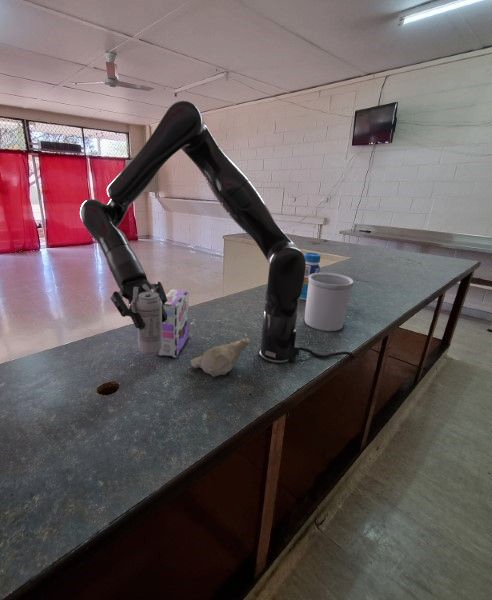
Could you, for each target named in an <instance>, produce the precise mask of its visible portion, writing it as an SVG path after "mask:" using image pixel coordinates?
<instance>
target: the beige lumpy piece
mask: <svg viewBox="0 0 492 600" xmlns="http://www.w3.org/2000/svg"><path fill="white" fill-rule="evenodd" d="M250 343H251V338H250V337H247V338H246V337H245V338H242V339H240V338H239V339H238V340H237V341H233V342H231V343H226V344H220V345H217V346H214V347H212V348H210V349H208V350H206V351H204V352H203V354H202V355H200V356H196V357H195V358H192V359H191V360H190V364H191V366H192V367H194V368H195V369H198V368H199V369H200V368H201V369H202V370H203V372H204V373H205V374H208V375H210V376H212V377H213V378H215V377H218V376H221V375H222V376H226V375H227V373H229V372H231V370H233V368H234V367H235V365H236V364H237V361H238V359H239V357H240V356H241V354H242V352H244V350H245V349H246V348H247V346H248V345H249V344H250Z"/></svg>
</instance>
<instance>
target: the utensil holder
mask: <svg viewBox="0 0 492 600" xmlns="http://www.w3.org/2000/svg"><path fill="white" fill-rule="evenodd" d="M308 280H309V284H308V292H307V300H305V308H304V309H305V310H304V323H305V324H306V325H307V326H308V327H311V328H313V329H316V330H319V331H323V332H336V331H340V330H342V329H343V328H344V324H345V319H346V316H347V311H348V307H349V302H350V297H351V293H352V287H353V285H354V280H353V278H351V277H349V276H347V275H344V274H340V273H334V272H333V273H332V272H319V273H313V274H310V275H309V278H308Z"/></svg>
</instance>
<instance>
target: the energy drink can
mask: <svg viewBox="0 0 492 600" xmlns="http://www.w3.org/2000/svg"><path fill="white" fill-rule="evenodd" d="M136 305H137V313H139V315H140V316H141V319H142V321H143V323H144V325H145V327H144V328H143V329H141V330H139V329H138V328H137V341H138V342H137V344H138V350H139V351H140V352H141V353H142V354H144V355H150V356H151V355H156V354H158V352H159V351H160V349H161V348H162V346H163V343H162V301H161V299H160V297H159V294H158V293H157V292H154V291H152V292H150V291H149V292H142V293H140V294H139V297H138V299H137V302H136Z"/></svg>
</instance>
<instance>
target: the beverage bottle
mask: <svg viewBox="0 0 492 600" xmlns="http://www.w3.org/2000/svg"><path fill="white" fill-rule="evenodd" d="M304 256H305V259H306V270H305V277H304V283H303V289H302V294H301V296H300V299H299V300H303V301H306V300H307V292H308V284H309V280H308V278H309V275H310V274H313V273H321V267H320V265H319V263H320V262H321V254H320V253H317V252H305V253H304Z"/></svg>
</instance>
